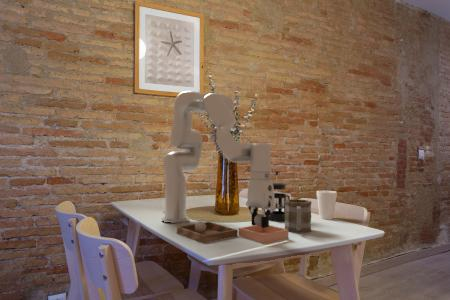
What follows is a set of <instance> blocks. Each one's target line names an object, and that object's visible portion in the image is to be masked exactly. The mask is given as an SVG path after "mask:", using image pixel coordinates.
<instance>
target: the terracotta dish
mask: <svg viewBox="0 0 450 300" xmlns="http://www.w3.org/2000/svg"><path fill="white" fill-rule="evenodd" d="M238 237H241V238H243V239H247V240H251V241H255V242H256V243H257V242H258V243H261V244H264V245H265V244H267V243H268V244H269V243H272V242H277V241H279V240H284V239H289V232H288V230H287V229H285V228H282V227H278V226H275V225H270V224H269V227H266V228H262V227H261V226H257V225H248V226H242V227H238Z"/></svg>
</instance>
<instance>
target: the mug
mask: <svg viewBox="0 0 450 300" xmlns="http://www.w3.org/2000/svg"><path fill="white" fill-rule="evenodd" d="M311 221H312V201H311V200H308V199H307V200H306V199H299V198H297V199H295V198H294V199H293V198H292V199H291V198H290V199H289V200H288V199H286V200H285V221H284V229H287V230H288V233H293V234H308V233H310V232H312V227H311V226H312V224H311V223H312V222H311Z"/></svg>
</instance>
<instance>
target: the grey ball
mask: <svg viewBox="0 0 450 300" xmlns="http://www.w3.org/2000/svg"><path fill="white" fill-rule="evenodd" d="M257 214H258V215H256V216H255V218H254V222H255V224H256V225H257V226H261V220H262V217H263V214H262V213H257Z"/></svg>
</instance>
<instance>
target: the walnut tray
mask: <svg viewBox="0 0 450 300" xmlns="http://www.w3.org/2000/svg"><path fill="white" fill-rule="evenodd" d="M204 223H205V225H206V230H205V231H204V232H203V233H198V232H196V230H195V224H196V223H193V224H184V225H180V226H176V234H178V235H181V236H183V237H186V238H189V239H192V240H193V241H196V242H200V243H202V244H207V243H211V242H217V241H222V240H226V239H231V238H236V237H239V229H236V228H233V227H230V226H226V225H223V224H219V223H215V222H212V221H205V222H204Z"/></svg>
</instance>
